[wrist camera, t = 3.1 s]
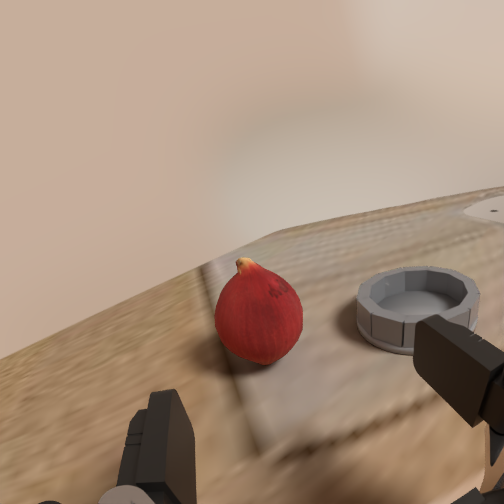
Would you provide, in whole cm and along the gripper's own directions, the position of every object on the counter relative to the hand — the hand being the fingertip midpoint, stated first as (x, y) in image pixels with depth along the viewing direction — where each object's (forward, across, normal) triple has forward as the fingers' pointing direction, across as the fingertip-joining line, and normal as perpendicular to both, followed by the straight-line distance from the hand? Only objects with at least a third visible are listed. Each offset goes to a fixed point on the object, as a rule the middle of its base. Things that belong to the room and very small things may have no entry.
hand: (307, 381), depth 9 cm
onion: (+11, 0, +7) cm, 13 cm away
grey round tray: (+11, -12, +7) cm, 18 cm away
